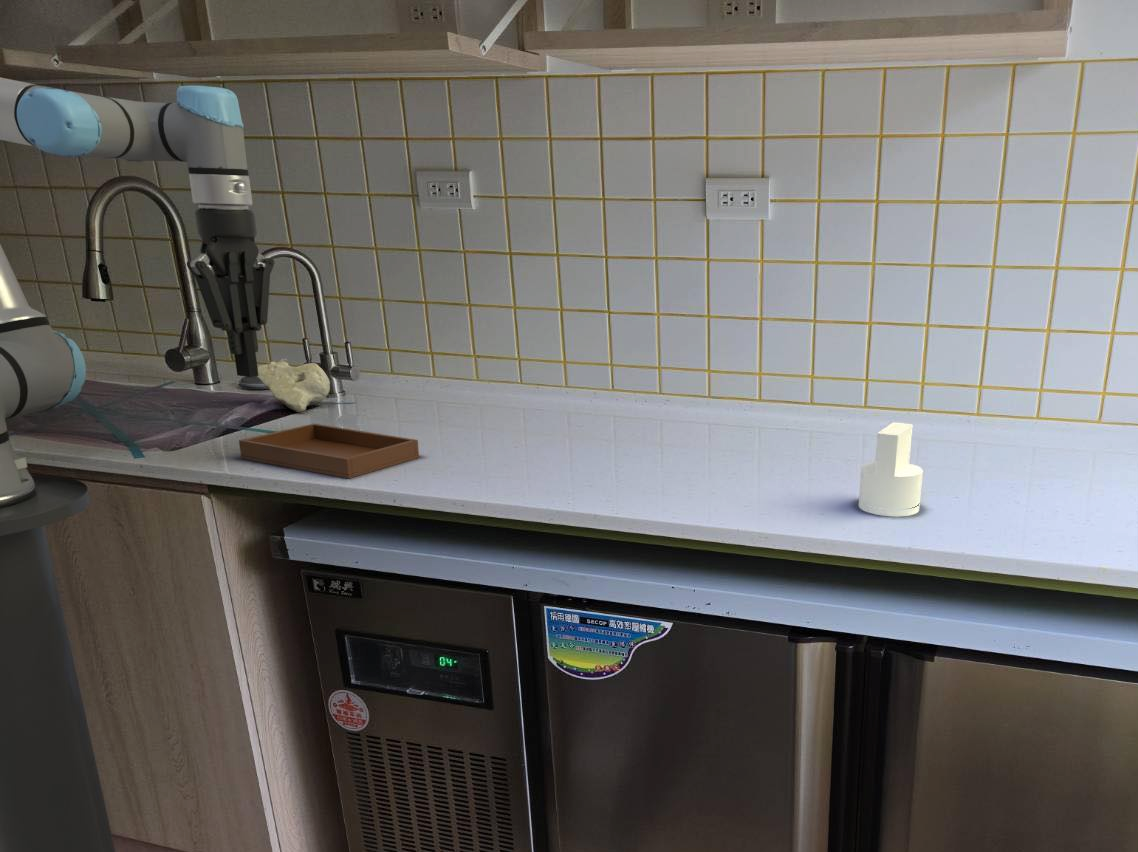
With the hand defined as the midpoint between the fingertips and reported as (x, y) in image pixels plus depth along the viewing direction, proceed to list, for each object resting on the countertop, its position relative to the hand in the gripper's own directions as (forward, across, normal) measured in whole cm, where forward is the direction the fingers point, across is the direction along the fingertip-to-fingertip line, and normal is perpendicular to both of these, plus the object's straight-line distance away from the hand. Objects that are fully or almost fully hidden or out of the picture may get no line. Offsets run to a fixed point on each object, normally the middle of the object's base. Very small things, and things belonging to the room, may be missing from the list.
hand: (247, 375), depth 146 cm
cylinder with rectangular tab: (+16, +35, -90) cm, 98 cm away
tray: (+16, +14, 0) cm, 21 cm away
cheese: (+16, +40, +39) cm, 58 cm away
